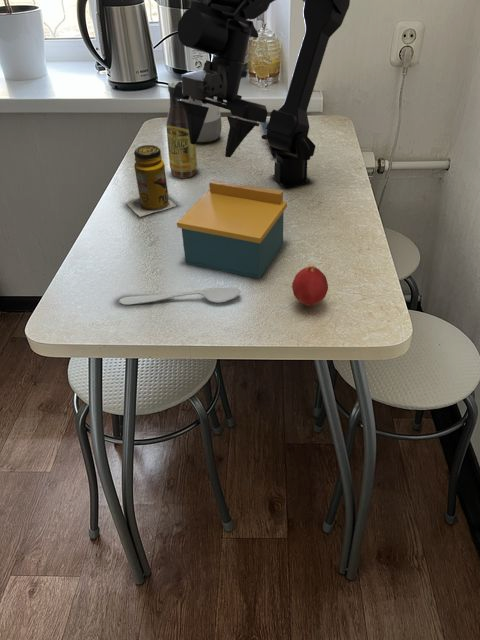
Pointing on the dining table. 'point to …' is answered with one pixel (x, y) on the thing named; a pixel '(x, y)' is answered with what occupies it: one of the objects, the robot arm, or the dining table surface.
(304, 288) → the onion
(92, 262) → the dining table surface
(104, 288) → the dining table surface
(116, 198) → the dining table surface
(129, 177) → the dining table surface
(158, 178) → the condiment
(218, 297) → the spoon
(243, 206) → the bin lid
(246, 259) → the storage bin
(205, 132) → the smart speaker
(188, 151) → the sauce bottle
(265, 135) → the knife
